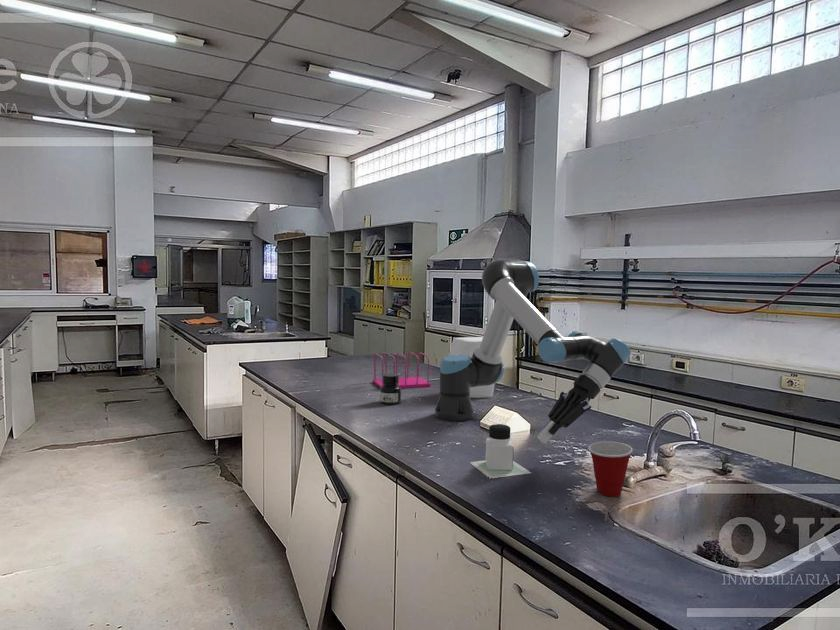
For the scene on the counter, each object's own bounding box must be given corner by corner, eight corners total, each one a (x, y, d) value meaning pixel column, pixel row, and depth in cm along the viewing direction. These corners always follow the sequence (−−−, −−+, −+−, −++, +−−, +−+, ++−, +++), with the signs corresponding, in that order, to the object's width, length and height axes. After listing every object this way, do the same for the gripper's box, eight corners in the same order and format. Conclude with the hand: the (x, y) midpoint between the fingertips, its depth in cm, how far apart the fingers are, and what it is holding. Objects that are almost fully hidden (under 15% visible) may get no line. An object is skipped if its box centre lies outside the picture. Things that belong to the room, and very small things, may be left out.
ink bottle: (375, 403, 226) (375, 375, 225) (384, 399, 235) (385, 372, 234) (396, 406, 223) (396, 377, 222) (405, 401, 231) (405, 374, 230)
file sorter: (372, 382, 270) (372, 351, 269) (419, 380, 278) (419, 350, 277) (381, 390, 254) (381, 357, 252) (430, 387, 262) (431, 355, 260)
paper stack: (505, 397, 241) (506, 340, 239) (448, 400, 234) (449, 342, 232) (487, 387, 261) (488, 335, 259) (434, 390, 254) (435, 336, 252)
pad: (489, 478, 145) (490, 478, 145) (469, 462, 158) (469, 462, 158) (531, 473, 150) (531, 472, 150) (508, 457, 162) (508, 457, 162)
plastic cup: (579, 484, 142) (581, 440, 142) (618, 483, 143) (620, 439, 142) (596, 501, 132) (598, 454, 131) (638, 500, 133) (640, 453, 132)
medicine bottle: (513, 470, 151) (514, 429, 150) (487, 470, 151) (488, 428, 150) (509, 461, 158) (510, 422, 157) (485, 461, 158) (486, 421, 158)
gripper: (612, 395, 157) (561, 455, 153) (584, 385, 169) (536, 441, 165) (598, 378, 155) (545, 439, 151) (571, 369, 167) (522, 425, 163)
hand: (541, 440), depth 158 cm, fingers closed
